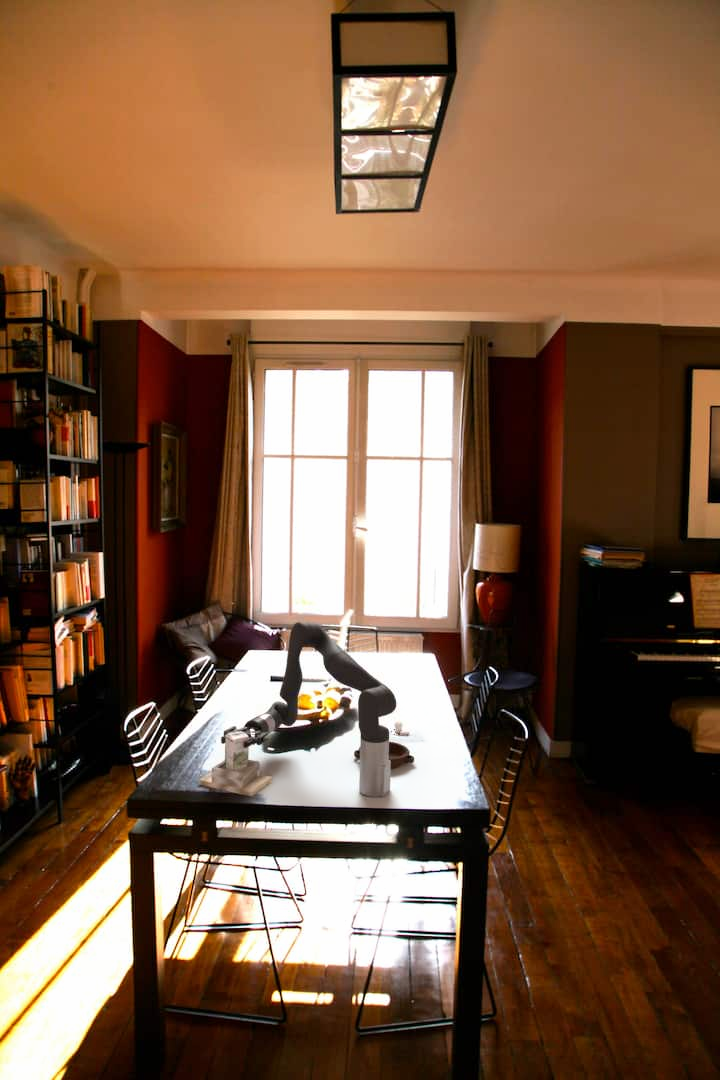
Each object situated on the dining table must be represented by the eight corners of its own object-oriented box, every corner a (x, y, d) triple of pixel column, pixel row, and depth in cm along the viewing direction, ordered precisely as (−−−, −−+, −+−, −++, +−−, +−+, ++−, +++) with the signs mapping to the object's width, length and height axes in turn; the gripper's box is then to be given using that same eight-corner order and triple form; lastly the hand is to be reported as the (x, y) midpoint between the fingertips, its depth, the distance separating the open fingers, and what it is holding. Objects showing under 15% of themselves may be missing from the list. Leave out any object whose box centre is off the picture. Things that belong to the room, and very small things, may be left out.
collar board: (271, 781, 198) (272, 763, 198) (251, 796, 187) (252, 777, 187) (221, 770, 206) (221, 753, 205) (199, 784, 194) (199, 766, 194)
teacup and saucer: (411, 736, 244) (411, 726, 244) (392, 737, 242) (392, 727, 242) (405, 729, 252) (405, 719, 252) (386, 730, 251) (387, 720, 250)
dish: (411, 776, 205) (412, 761, 205) (348, 769, 209) (349, 755, 209) (416, 756, 222) (416, 743, 222) (358, 751, 226) (358, 737, 226)
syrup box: (239, 773, 200) (240, 730, 200) (248, 779, 196) (249, 735, 195) (224, 777, 197) (224, 733, 196) (232, 783, 192) (233, 739, 192)
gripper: (242, 713, 211) (215, 728, 196) (277, 719, 206) (252, 734, 191) (242, 734, 212) (214, 750, 197) (277, 741, 206) (251, 758, 191)
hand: (233, 742), depth 194 cm, fingers open, 8 cm apart
